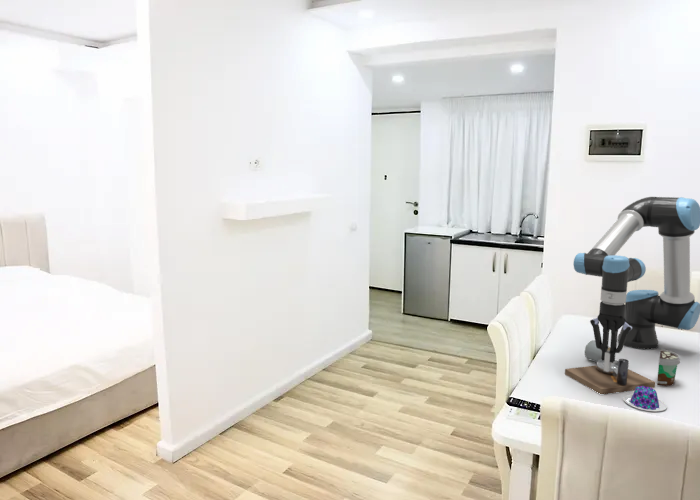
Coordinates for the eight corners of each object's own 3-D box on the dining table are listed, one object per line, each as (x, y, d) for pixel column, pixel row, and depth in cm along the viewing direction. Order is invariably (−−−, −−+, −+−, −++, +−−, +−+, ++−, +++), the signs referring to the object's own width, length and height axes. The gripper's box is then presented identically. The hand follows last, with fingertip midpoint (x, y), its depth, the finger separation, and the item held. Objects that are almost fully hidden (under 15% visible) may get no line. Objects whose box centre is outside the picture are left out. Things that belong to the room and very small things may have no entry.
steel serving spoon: (593, 363, 190) (595, 342, 189) (623, 365, 188) (624, 344, 187) (606, 383, 172) (608, 360, 171) (639, 386, 170) (641, 363, 169)
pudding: (622, 408, 161) (624, 392, 160) (623, 393, 171) (625, 378, 170) (667, 416, 155) (669, 400, 154) (665, 401, 165) (667, 386, 165)
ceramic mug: (602, 367, 193) (604, 347, 192) (583, 360, 200) (584, 341, 199) (619, 362, 198) (621, 343, 197) (600, 356, 205) (602, 337, 204)
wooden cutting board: (614, 368, 192) (615, 362, 192) (654, 387, 175) (655, 381, 175) (564, 374, 187) (565, 368, 186) (601, 394, 169) (601, 388, 169)
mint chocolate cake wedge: (678, 390, 173) (680, 362, 171) (656, 386, 176) (659, 358, 174) (677, 378, 183) (680, 351, 182) (657, 374, 186) (660, 348, 185)
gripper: (588, 301, 171) (583, 368, 175) (630, 308, 163) (624, 378, 166) (596, 297, 177) (591, 362, 180) (637, 303, 168) (631, 372, 171)
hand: (607, 370), depth 173 cm, fingers closed
